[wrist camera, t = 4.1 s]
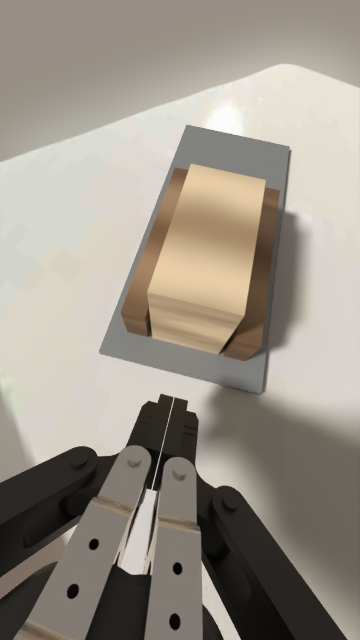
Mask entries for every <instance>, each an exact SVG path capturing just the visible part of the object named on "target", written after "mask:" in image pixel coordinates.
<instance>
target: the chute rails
mask: <svg viewBox="0 0 360 640" xmlns="http://www.w3.org/2000/svg"><path fill="white" fill-rule="evenodd" d="M188 171H189V170H186V169H181V168H177V167H175V168H174V171H173V173H172V176H171V179H170V181H169V184H168V187H167V189H166V192H165V195H164V197H163V200H162V203H161V205H160V208H159V211H158V213H157V216H156V219H155V221H154V224H153V227H152V229H151V232H150V235H149V237H148V240H147V243H146V245H145V248H144V251H143V253H142V256H141V259H140V261H139V264H138V267H137V269H136V272H135V275H134V277H133V280H132V283H131V285H130V288H129V291H128V293H127V296H126V299H125V301H124V304H123V307H122V309H121V312H120V313H121V315H122V318H123V321H124V324H125V326H126V329H127V332H130V333H134V334H138V335H142V336H146V337H148V335H149V332H150V329H151V320H150V312H149V304H148V295H147V291H148V288H149V285H150V282H151V279H152V276H153V273H154V270H155V268H156V265H157V262H158V259H159V256H160V253H161V250H162V247H163V244H164V241H165V238H166V235H167V232H168V229H169V226H170V224H171V221H172V218H173V215H174V212H175V209H176V206H177V203H178V200H179V197H180V194H181V191H182V188H183V185H184V182H185V180H186V177H187V174H188ZM279 196H280V190H276V189H272V188H267V187H265V189H264V196H263V202H262V208H261V215H260V221H259V227H258V234H257V240H256V246H255V253H254V259H253V265H252V272H251V278H250V284H249V291H248V297H247V303H246V309H245V316H244V317H243V319H242V320H241V322H240V323H239V325H238V326H237V327H236V329H235V330H234V332H233V333H232V335H231V336H230V338H229V339H228V341H227V342H226V345H225V351H224V356H225V357H229V358H233V359H237V360H241V361H246V360H247V359H248V358H249V357H250V356H252V355H253V354H254V353H255V352H256V351H257V350H258V349H259V348H261V342H262V334H263V326H264V318H265V310H266V302H267V294H268V285H269V277H270V269H271V261H272V253H273V245H274V237H275V228H276V220H277V212H278V204H279Z"/></svg>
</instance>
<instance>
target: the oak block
mask: <svg viewBox="0 0 360 640" xmlns="http://www.w3.org/2000/svg"><path fill="white" fill-rule="evenodd" d="M265 183H266V180H264V179H259V178H254V177H250V176H245V175H241V174H236V173H232V172H227V171H223V170H218V169H214V168H209V167H204V166H200V165H195V164H191V165H190V168H189V171H188V174H187V177H186V180H185V182H184V185H183V188H182V191H181V194H180V197H179V200H178V203H177V206H176V209H175V212H174V215H173V218H172V221H171V224H170V226H169V229H168V232H167V235H166V238H165V241H164V244H163V247H162V250H161V253H160V256H159V259H158V262H157V265H156V268H155V270H154V273H153V276H152V279H151V282H150V285H149V288H148V291H147V295H148V304H149V312H150V320H151V329H152V337H153V338H154V339H158V340H161V341H165V342H169V343H173V344H177V345H181V346H185V347H189V348H193V349H197V350H201V351H205V352H209V353H213V354H217V355H218V354H219V352H220V351H221V349H222V348H223V346H224V345H225V343H226V342H227V341H228V339H229V338H230V336H231V335H232V333H233V332H234V330H235V329H236V327H237V326H238V325H239V323H240V322H241V320H242V319H243V317H244V316H245V309H246V303H247V297H248V291H249V284H250V278H251V272H252V265H253V259H254V253H255V246H256V240H257V234H258V227H259V221H260V215H261V208H262V202H263V196H264V189H265Z"/></svg>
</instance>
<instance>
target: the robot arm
mask: <svg viewBox="0 0 360 640" xmlns="http://www.w3.org/2000/svg"><path fill="white" fill-rule="evenodd" d="M173 398H174V397H171V396H167V395H164V394H160V397H159V400H158V403H155V402H151V401H148V402H147V403H146V404H144V405H143V406H142V408H141V410H140V413H139V415H138V418H137V421H136V423H135V425H134V428H133V430H132V433H131V435H130V438H129V440H128V443H127V445H126V447H125V448H124V449H123V450H122V451H121V452H120V453H118V454H115V455H112V456H97V454H96V452H95V451H94V450H93V449H91V448H89V447H85V446H79V447H75V448H72V449H70V450H68V451H66V452H64V453H62V454H60V455H58V456H56V457H53V458H51V459H49V460H47V461H45V462H43V463H41V464H39V465H37V466H35V467H33V468H30V469H28V470H26V471H24V472H22V473H20V474H18V475H16V476H14V477H12V478H10V479H7V480H5V481H3V482H1V483H0V577H2V576H3V575H4V574H6V573H7V572H9V571H10V570H11V569H13V568H15V567H16V566H17V565H19V564H20V563H22V562H23V561H24V560H26V559H27V558H29V557H30V556H32V555H33V554H35V553H36V552H38V551H39V550H40V549H42V548H43V547H45V546H46V545H48V544H49V543H50V542H52V541H53V540H55V539H56V538H58V537H59V536H61V535H62V534H64V533H65V532H66V531H68V530H69V529H71V528H72V527H74V526H75V525H76V524H78V525H77V527H76V529H75V531H74V533H73V535H72V536H71V538H70V540H69V542H68V544H67V546H66V548H65V550H64V552H63V553H62V555H61V557H60V559H59V561H57V562H53V563H51V564H49V565H47V566H45V567H43V568H41V569H39V570H38V571H36V572H35V573H33V574H32V575H31V576H29V577H28V578H27V579H26V580H24V581H23V582H22V583H20V584H19V585H18V586H16V587H15V588H14V589H13V590H11V591H10V592H9V593H8V594H6V595H5V596H4V597H2V598H1V599H0V640H224V639H223V637H222V634H221V632H220V630H219V628H218V626H217V624H216V622H215V621H214V619H213V617H212V616H211V614H210V613H209V611H208V610H207V609H206V607H205V606H204V605H203V604H202V568H201V560H202V562H203V564H204V566H205V568H206V570H207V572H208V574H209V576H210V578H211V580H212V582H213V584H214V586H215V588H216V590H217V592H218V594H219V596H220V598H221V600H222V602H223V604H224V606H225V608H226V610H227V612H228V614H229V616H230V618H231V620H232V622H233V624H234V626H235V628H236V630H237V632H238V634H239V636H240V638H241V640H347V638H346V637H345V636H344V634H343V633H342V632H341V630H340V629H339V627H338V626H337V625H336V623H335V622H334V621H333V619H332V618H331V616H330V615H329V614H328V612H327V611H326V610H325V608H324V607H323V606H322V604H321V603H320V601H319V600H318V599H317V597H316V596H315V595H314V593H313V592H312V590H311V589H310V588H309V586H308V585H307V584H306V582H305V581H304V579H303V578H302V577H301V575H300V574H299V573H298V571H297V570H296V568H295V567H294V566H293V564H292V563H291V562H290V560H289V559H288V558H287V556H286V555H285V553H284V552H283V551H282V549H281V548H280V547H279V545H278V544H277V542H276V541H275V540H274V538H273V537H272V536H271V534H270V533H269V531H268V530H267V529H266V527H265V526H264V525H263V523H262V522H261V520H260V519H259V518H258V516H257V515H256V514H255V512H254V511H253V510H252V508H251V507H250V505H249V504H248V503H247V501H246V500H245V499H244V497H243V496H242V495H241V493H240V492H238V491H237V490H236V489H234V488H233V487H230V486H220V487H218V488H214V487H212V486H211V485H209V484H208V483H206V482H205V481H204V480H203V479H202V478H201V477H200V476H199V474H198V473H197V471H196V467H195V458H196V446H197V435H198V423H199V421H198V418H197V416H196V413H193V412H189V411H186V410H187V404H188V401H187V400H183V399H179V398H175V399H174V403H173V407H172V411H171V415H170V419H169V423H168V418H169V414H170V410H171V406H172V402H173ZM167 423H168V427H167ZM166 427H167V431H166ZM165 431H166V435H165ZM164 435H165V439H164ZM163 439H164V444H163V448H162V443H163ZM161 448H162V452H161ZM160 452H161V456H160ZM159 456H160V460H159ZM158 460H159V465H158V469H157V473H156V477H155V482H154V486H153V490H155V491H157V493H156V498H155V502H154V506H153V510H152V517H151V523H150V530H149V537H148V544H147V551H146V558H145V564H144V569H143V574H141V575H131V574H129V573H127V572H126V571H124V570H123V569H122V568H120V567H121V564H122V560H123V557H124V554H125V551H126V548H127V545H128V542H129V539H130V536H131V533H132V530H133V528H134V525H135V522H136V519H137V516H138V513H139V510H140V507H141V504H142V503H143V500H144V497H145V493H146V489H151V488H152V484H153V480H154V476H155V472H156V468H157V464H158Z"/></svg>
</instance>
